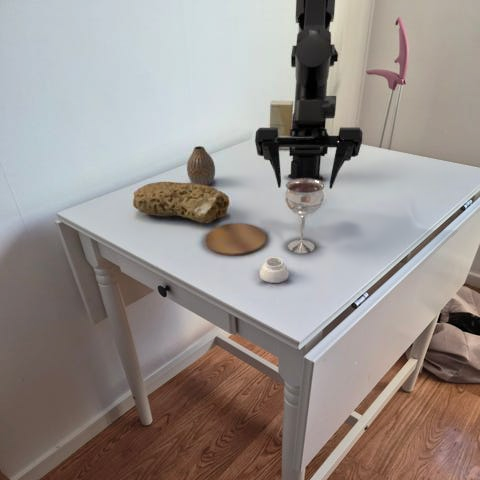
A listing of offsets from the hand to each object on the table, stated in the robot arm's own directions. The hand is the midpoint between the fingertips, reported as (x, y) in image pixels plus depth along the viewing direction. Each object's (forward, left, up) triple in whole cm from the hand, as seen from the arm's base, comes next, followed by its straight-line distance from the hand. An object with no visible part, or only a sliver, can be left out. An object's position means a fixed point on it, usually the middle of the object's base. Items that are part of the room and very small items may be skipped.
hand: (304, 187), depth 76 cm
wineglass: (+2, +2, -11) cm, 11 cm away
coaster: (+11, -7, -10) cm, 17 cm away
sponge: (+16, -23, -11) cm, 30 cm away
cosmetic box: (-26, -49, -11) cm, 56 cm away
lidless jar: (+12, +8, -10) cm, 18 cm away
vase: (+5, -37, -11) cm, 38 cm away
